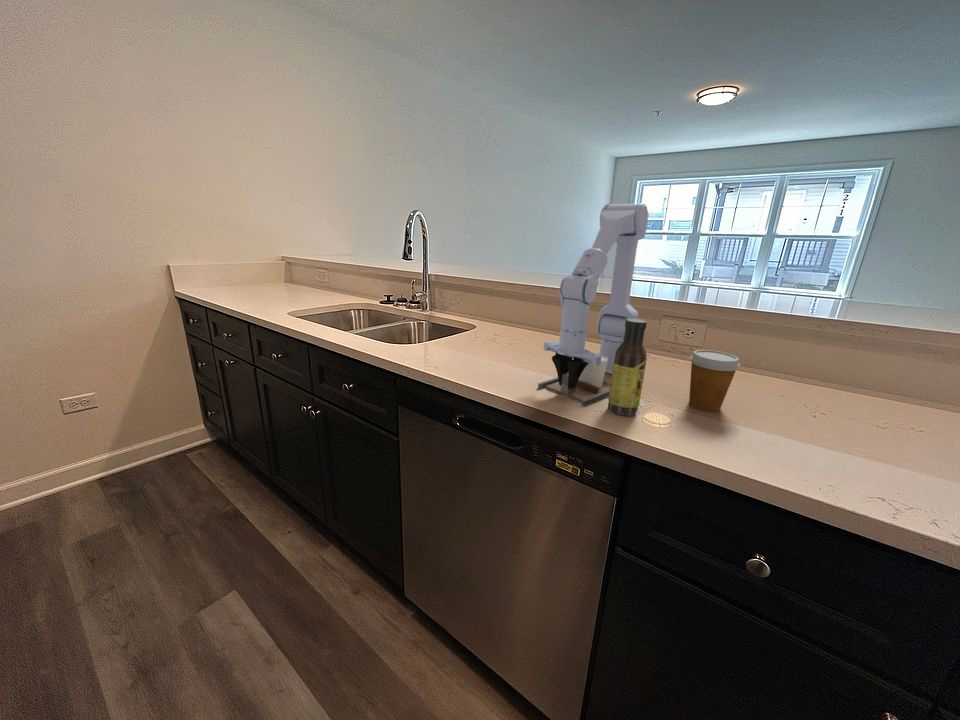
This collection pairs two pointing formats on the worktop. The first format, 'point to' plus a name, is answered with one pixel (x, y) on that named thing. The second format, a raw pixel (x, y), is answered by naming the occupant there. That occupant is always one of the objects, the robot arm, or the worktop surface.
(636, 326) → the sauce bottle
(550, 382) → the lane rails
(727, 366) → the disposable coffee cup
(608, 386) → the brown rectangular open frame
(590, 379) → the white cup
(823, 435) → the worktop surface
